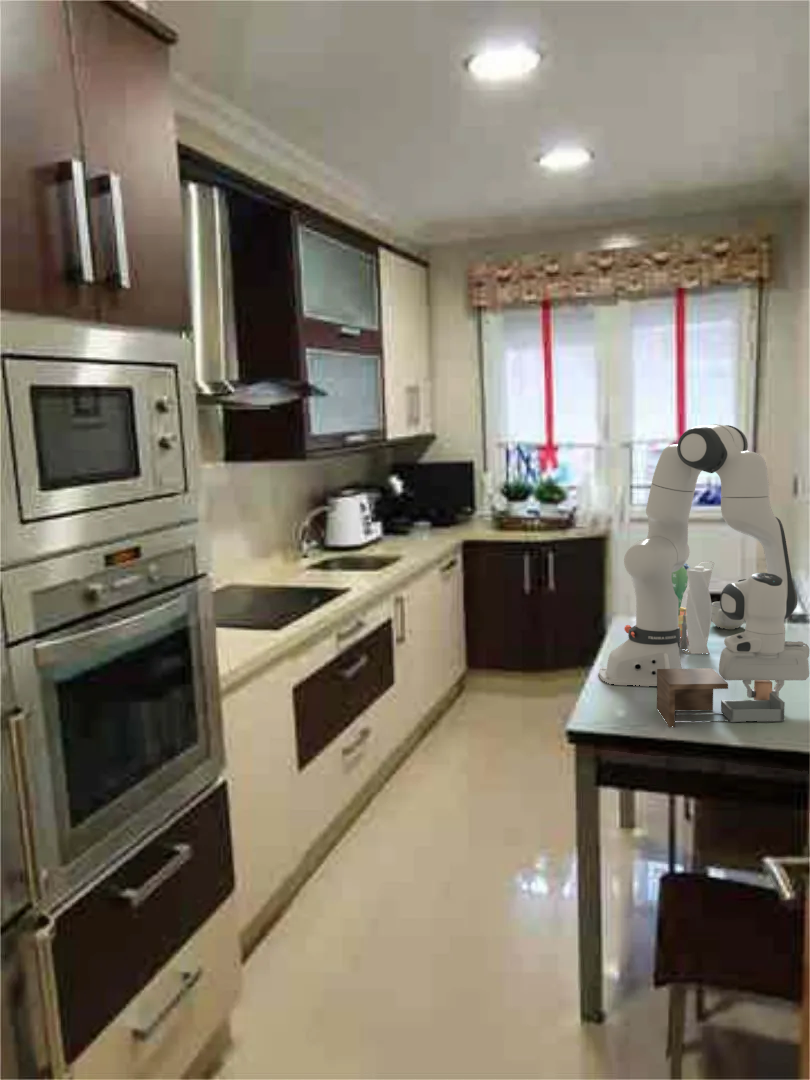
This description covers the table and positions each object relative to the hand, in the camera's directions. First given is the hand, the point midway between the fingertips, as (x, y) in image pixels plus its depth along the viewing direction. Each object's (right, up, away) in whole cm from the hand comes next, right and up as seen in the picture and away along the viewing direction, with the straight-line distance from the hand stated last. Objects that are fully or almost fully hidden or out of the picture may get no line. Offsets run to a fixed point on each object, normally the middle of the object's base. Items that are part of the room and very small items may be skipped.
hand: (762, 697), depth 199 cm
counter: (-12, -4, -6) cm, 14 cm away
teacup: (+21, +8, +76) cm, 80 cm away
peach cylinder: (0, -2, 0) cm, 2 cm away
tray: (-5, -4, -6) cm, 9 cm away
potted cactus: (0, +7, +70) cm, 70 cm away
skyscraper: (+2, +4, +50) cm, 50 cm away
